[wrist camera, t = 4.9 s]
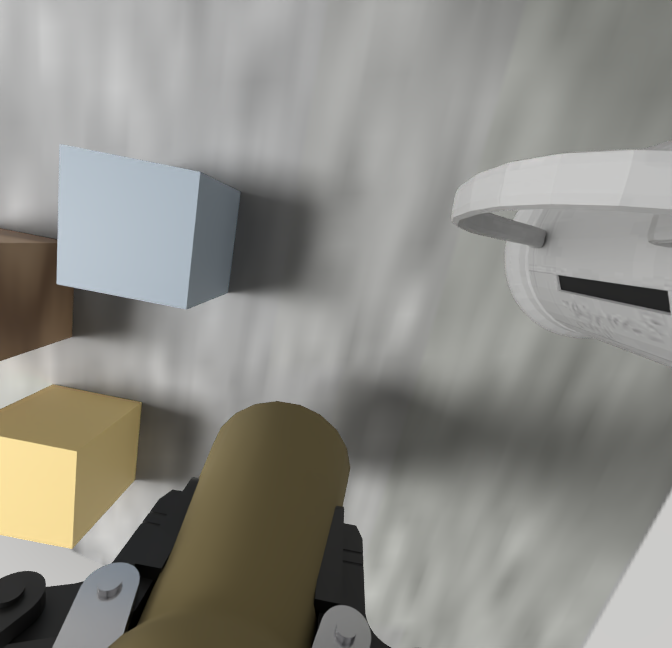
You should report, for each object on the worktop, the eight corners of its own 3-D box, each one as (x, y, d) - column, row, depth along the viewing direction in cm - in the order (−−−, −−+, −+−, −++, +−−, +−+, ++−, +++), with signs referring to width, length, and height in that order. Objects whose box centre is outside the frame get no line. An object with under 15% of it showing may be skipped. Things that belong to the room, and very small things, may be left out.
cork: (350, 402, 15) (350, 835, 4) (349, 527, 16) (347, 1098, 5) (205, 399, 15) (-161, 802, 4) (216, 523, 16) (-41, 1062, 6)
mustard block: (54, 383, 20) (-41, 428, 15) (142, 401, 20) (77, 451, 15) (51, 462, 21) (-38, 527, 16) (135, 478, 21) (72, 548, 16)
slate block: (139, 172, 18) (59, 144, 13) (241, 192, 18) (200, 171, 13) (133, 273, 19) (56, 284, 14) (228, 292, 19) (185, 309, 14)
